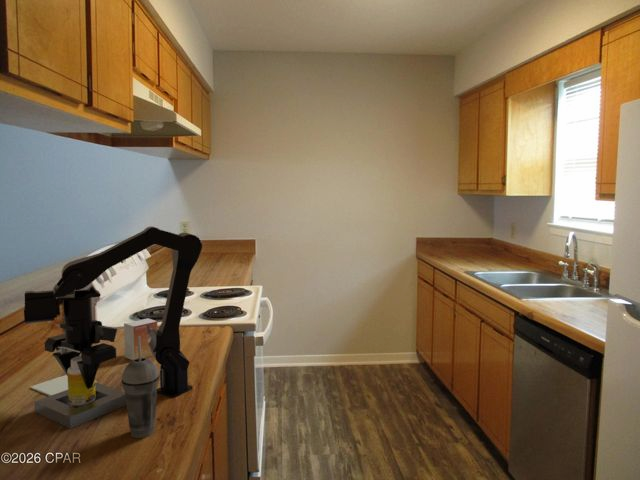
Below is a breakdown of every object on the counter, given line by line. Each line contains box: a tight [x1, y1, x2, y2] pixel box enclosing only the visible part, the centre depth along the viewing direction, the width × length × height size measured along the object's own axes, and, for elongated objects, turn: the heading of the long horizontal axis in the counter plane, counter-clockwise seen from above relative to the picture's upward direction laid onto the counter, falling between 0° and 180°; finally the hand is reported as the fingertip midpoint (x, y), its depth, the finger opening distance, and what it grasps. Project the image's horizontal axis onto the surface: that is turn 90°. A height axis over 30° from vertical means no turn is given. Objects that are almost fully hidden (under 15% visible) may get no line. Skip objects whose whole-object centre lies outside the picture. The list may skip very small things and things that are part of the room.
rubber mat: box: [30, 374, 98, 397], centre depth 123 cm, size 11×11×1 cm
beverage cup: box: [120, 336, 160, 439], centre depth 99 cm, size 7×7×20 cm
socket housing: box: [33, 381, 127, 429], centre depth 111 cm, size 14×14×2 cm
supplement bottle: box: [66, 355, 96, 407], centre depth 110 cm, size 6×6×10 cm
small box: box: [123, 317, 158, 361], centre depth 145 cm, size 8×6×10 cm
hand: (81, 384), depth 110 cm, fingers closed on supplement bottle, 5 cm apart
